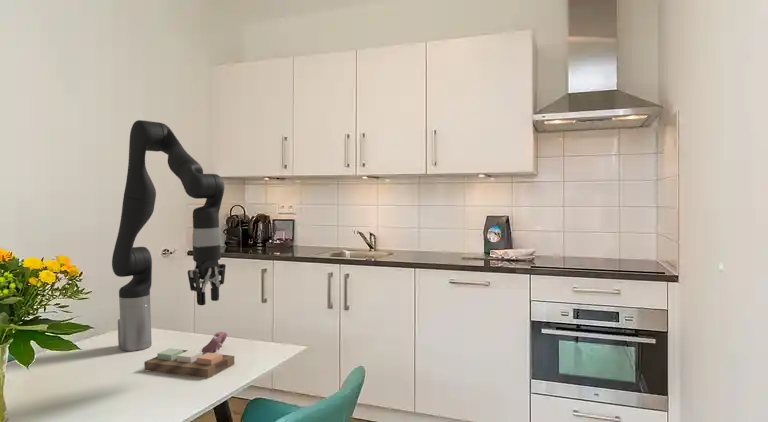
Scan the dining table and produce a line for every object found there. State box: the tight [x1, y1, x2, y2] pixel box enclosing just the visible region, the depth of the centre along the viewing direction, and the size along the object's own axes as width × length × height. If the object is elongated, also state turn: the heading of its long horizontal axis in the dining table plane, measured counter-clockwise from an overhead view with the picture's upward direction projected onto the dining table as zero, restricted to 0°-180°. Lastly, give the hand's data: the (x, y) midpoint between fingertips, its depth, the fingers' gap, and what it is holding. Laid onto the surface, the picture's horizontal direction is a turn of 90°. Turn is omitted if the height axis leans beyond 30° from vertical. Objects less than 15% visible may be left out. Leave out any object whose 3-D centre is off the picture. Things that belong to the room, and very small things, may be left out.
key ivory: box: [177, 350, 203, 363], centre depth 150 cm, size 5×5×2 cm
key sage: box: [156, 348, 184, 360], centre depth 152 cm, size 5×5×2 cm
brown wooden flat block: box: [143, 349, 235, 379], centre depth 150 cm, size 22×12×3 cm, turn 71°
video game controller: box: [201, 331, 229, 353], centre depth 166 cm, size 10×5×7 cm, turn 179°
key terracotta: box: [197, 352, 224, 365], centre depth 147 cm, size 5×5×2 cm
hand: (208, 302), depth 147 cm, fingers open, 5 cm apart
